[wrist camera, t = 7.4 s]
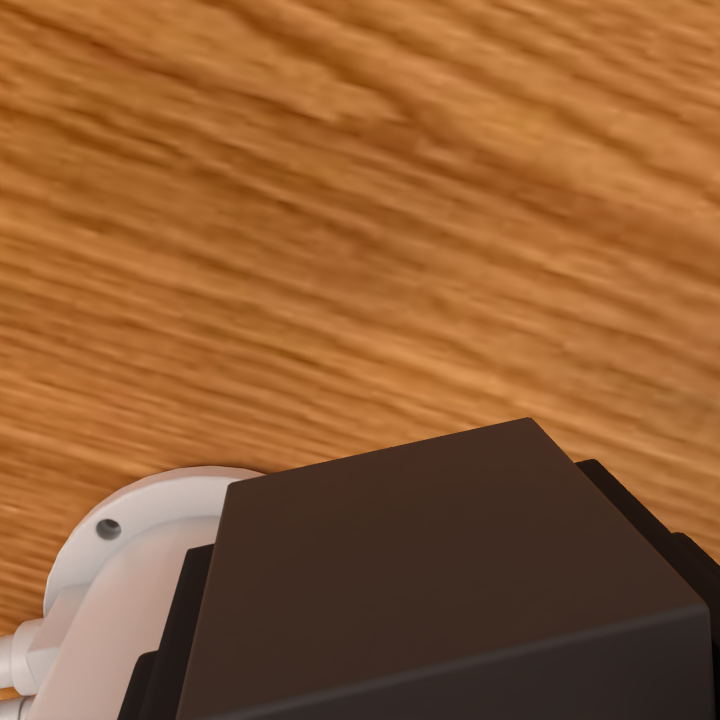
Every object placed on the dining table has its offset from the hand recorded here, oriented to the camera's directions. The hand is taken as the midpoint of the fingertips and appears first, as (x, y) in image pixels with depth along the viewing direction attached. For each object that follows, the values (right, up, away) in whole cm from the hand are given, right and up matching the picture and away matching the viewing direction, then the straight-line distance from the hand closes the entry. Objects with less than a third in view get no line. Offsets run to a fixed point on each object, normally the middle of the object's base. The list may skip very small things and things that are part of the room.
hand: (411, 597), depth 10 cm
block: (0, 0, 0) cm, 0 cm away
